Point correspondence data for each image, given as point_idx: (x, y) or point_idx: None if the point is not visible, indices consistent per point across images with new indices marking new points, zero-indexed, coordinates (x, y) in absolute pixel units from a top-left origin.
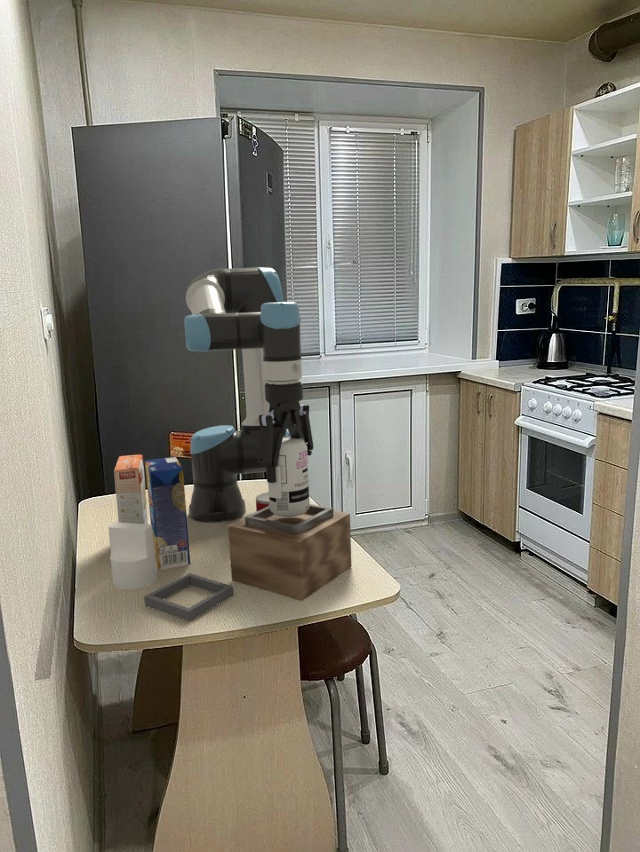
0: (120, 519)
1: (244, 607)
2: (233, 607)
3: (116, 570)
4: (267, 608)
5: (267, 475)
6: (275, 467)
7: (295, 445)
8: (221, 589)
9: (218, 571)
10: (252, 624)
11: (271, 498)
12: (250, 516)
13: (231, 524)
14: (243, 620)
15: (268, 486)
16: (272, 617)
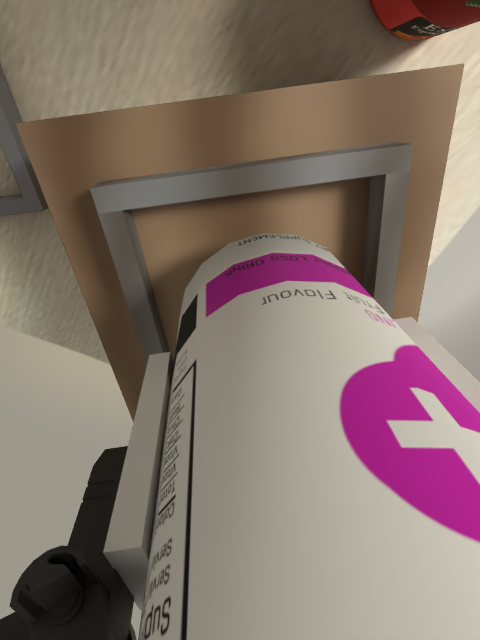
0: None
1: (46, 269)
2: (24, 251)
3: None
4: (85, 308)
5: (85, 505)
6: (132, 592)
7: None
8: (4, 201)
9: (100, 10)
10: (25, 331)
11: (178, 335)
12: (113, 208)
13: (37, 127)
14: (16, 308)
15: (139, 399)
16: (72, 339)
